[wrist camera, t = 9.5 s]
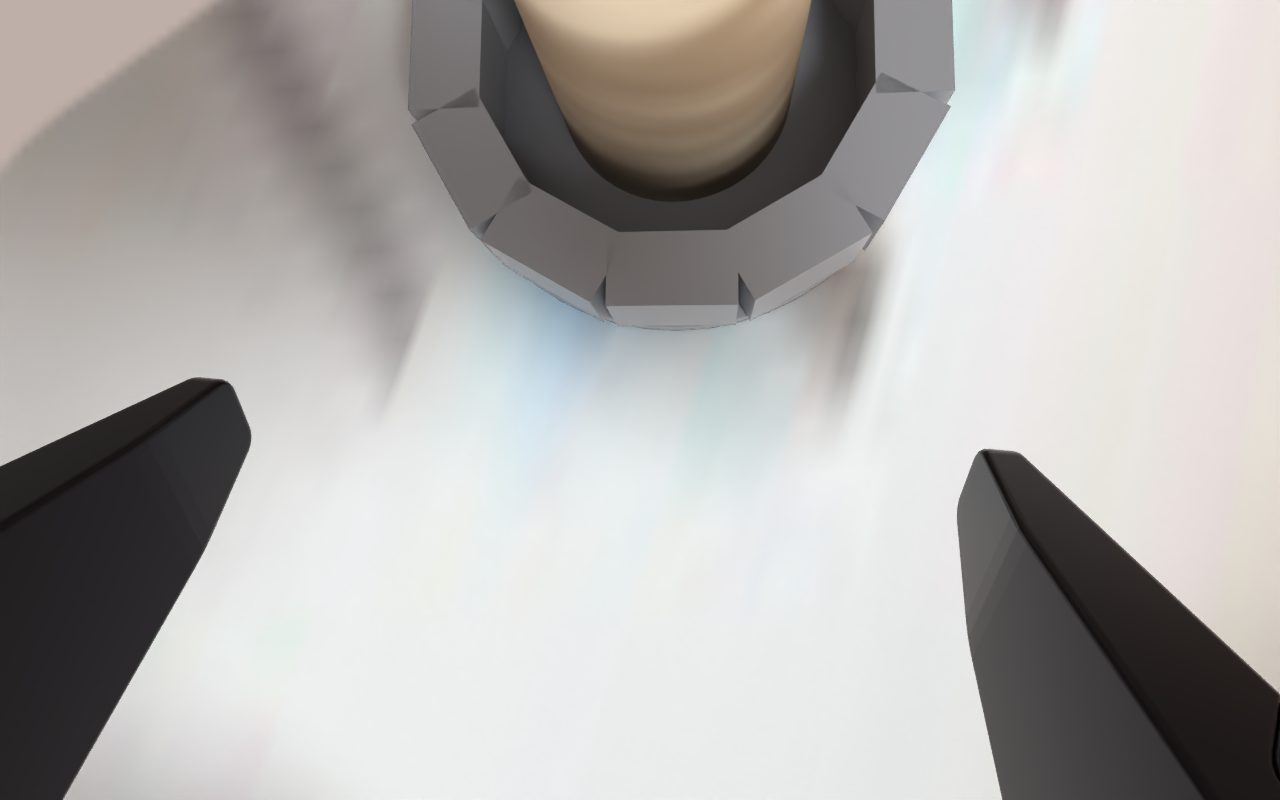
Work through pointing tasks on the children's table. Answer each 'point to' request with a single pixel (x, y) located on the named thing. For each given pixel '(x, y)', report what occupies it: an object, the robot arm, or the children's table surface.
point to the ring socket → (686, 230)
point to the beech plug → (670, 86)
